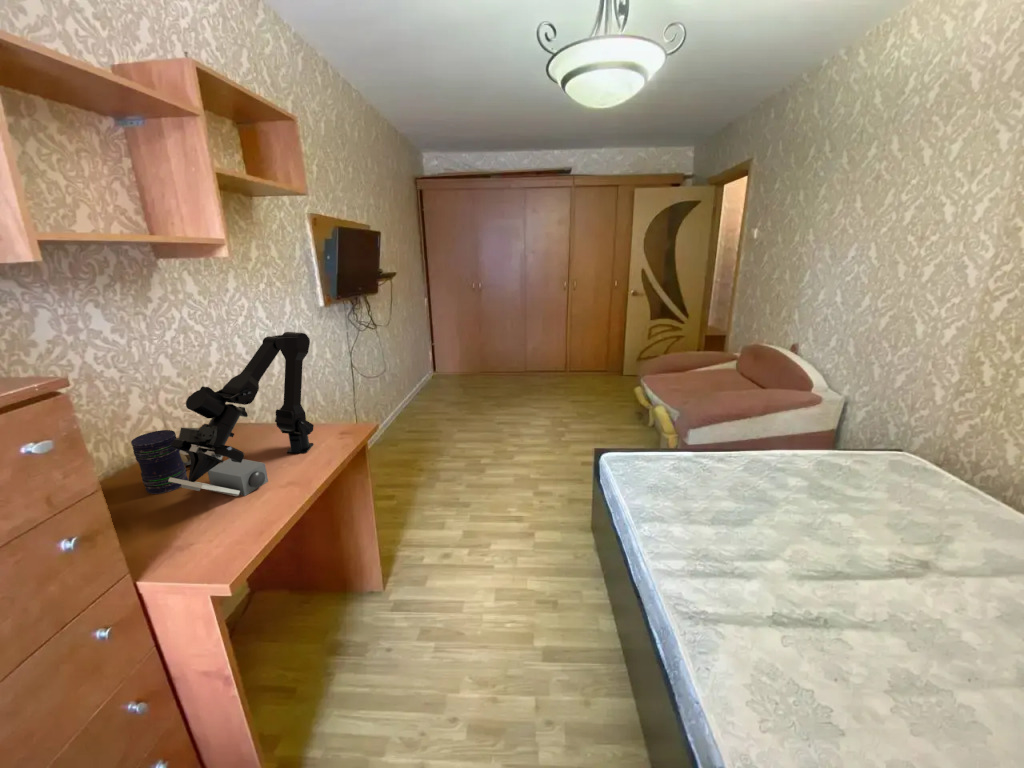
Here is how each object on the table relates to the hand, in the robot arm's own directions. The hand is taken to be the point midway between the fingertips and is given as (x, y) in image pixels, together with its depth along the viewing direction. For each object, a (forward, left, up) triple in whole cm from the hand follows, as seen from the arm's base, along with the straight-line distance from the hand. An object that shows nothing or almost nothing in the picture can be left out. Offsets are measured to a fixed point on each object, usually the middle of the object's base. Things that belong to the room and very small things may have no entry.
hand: (191, 481), depth 110 cm
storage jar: (-13, -17, -9) cm, 23 cm away
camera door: (-7, +3, -7) cm, 10 cm away
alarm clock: (-28, -18, -9) cm, 34 cm away
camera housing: (-12, +4, -9) cm, 15 cm away
